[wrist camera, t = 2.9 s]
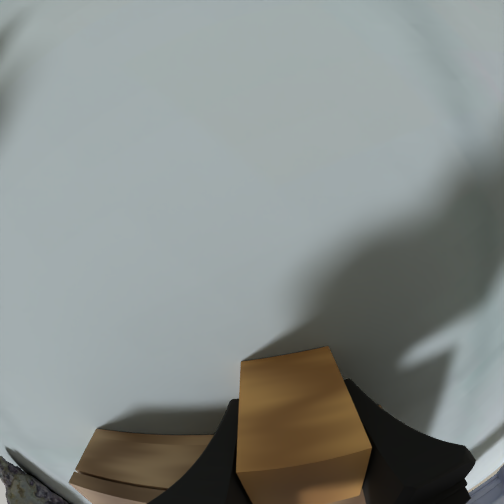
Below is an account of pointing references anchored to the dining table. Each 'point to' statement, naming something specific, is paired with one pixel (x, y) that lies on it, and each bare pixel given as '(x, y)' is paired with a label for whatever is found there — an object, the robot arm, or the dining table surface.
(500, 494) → the robot arm
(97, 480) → the lid
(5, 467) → the mineral rock
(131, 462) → the brown wooden open box
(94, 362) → the dining table surface
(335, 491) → the brown block
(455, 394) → the dining table surface
